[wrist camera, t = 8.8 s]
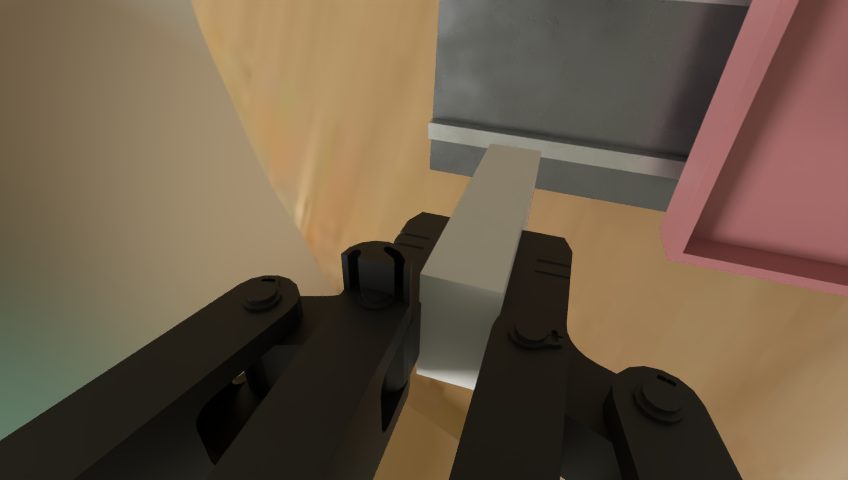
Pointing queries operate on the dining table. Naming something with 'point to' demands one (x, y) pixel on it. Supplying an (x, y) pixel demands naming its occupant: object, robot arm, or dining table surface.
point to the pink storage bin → (772, 154)
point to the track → (581, 88)
